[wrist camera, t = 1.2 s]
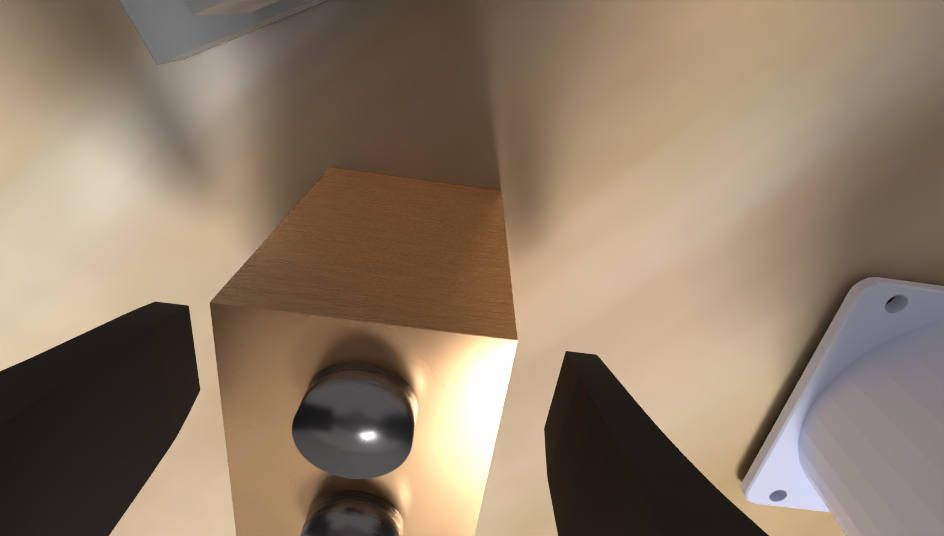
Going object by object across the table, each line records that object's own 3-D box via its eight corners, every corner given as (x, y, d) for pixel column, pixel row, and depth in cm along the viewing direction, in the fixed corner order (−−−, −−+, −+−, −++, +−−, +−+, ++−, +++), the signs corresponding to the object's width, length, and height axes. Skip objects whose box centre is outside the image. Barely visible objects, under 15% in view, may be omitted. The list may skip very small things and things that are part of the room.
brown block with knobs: (500, 190, 12) (521, 369, 6) (469, 372, 15) (462, 621, 9) (330, 166, 12) (186, 329, 6) (328, 355, 14) (225, 598, 9)
